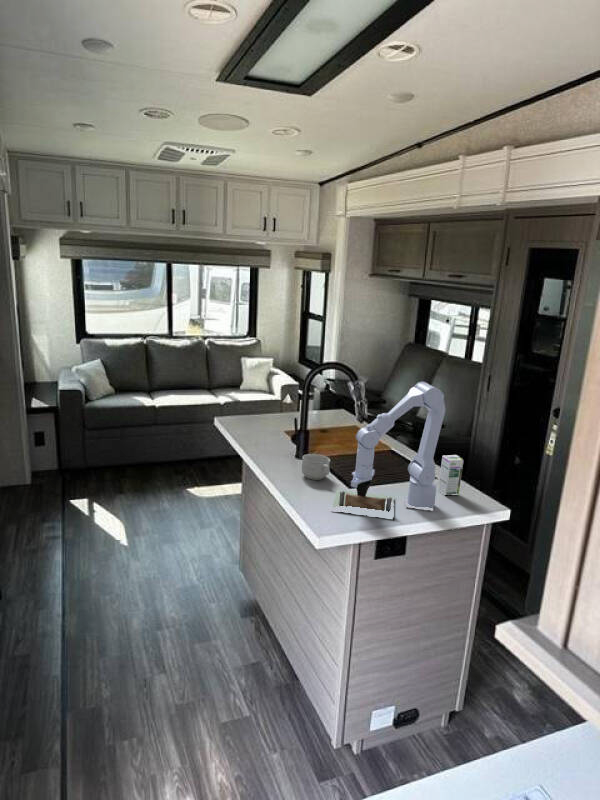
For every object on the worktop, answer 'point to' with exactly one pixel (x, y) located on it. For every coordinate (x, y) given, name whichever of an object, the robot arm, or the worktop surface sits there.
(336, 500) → the gate mat
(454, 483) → the syrup box
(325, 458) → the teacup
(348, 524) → the worktop surface
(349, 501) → the wooden block
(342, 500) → the dark gray metal cylinder
